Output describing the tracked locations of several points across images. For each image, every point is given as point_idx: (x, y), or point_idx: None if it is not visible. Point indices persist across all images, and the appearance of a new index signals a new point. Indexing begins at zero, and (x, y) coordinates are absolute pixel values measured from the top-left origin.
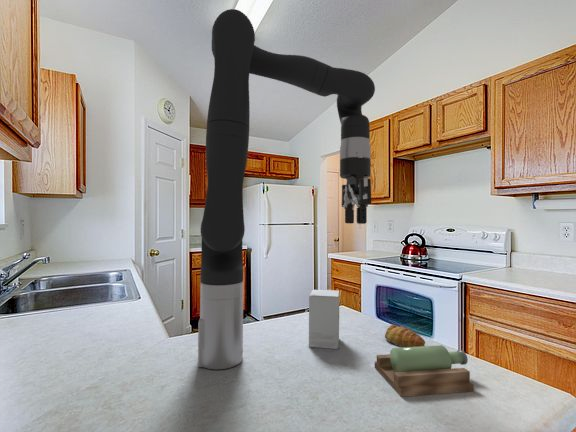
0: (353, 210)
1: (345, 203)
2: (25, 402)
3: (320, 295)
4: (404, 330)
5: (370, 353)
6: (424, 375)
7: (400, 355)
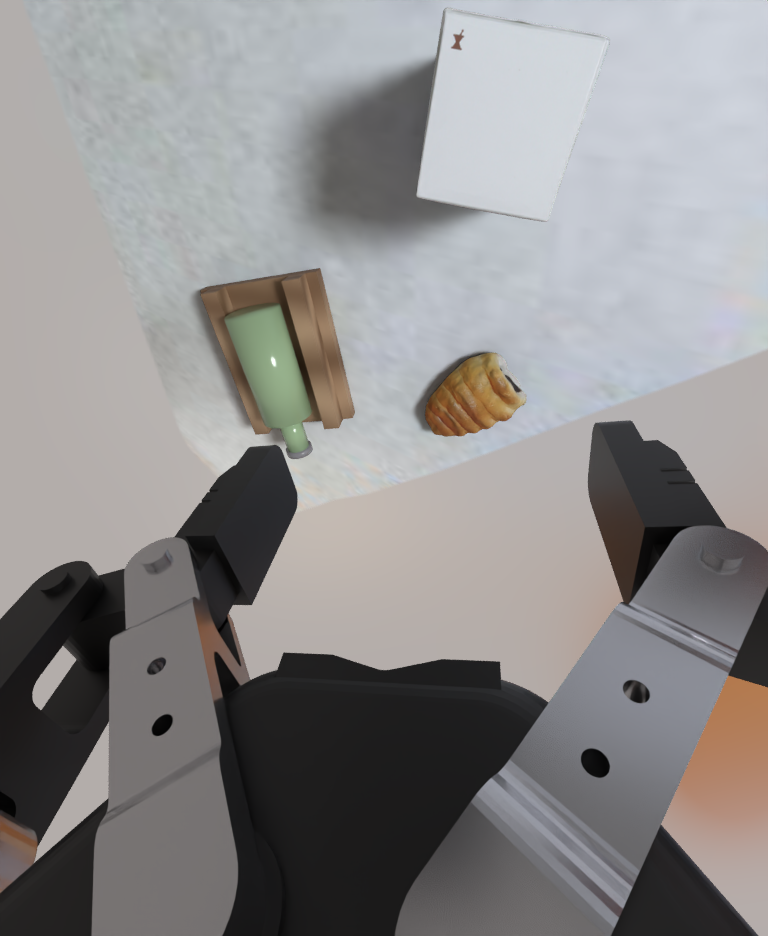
0: (623, 595)
1: (676, 599)
2: None
3: (435, 90)
4: (467, 408)
5: (402, 280)
6: (223, 350)
7: (226, 322)
